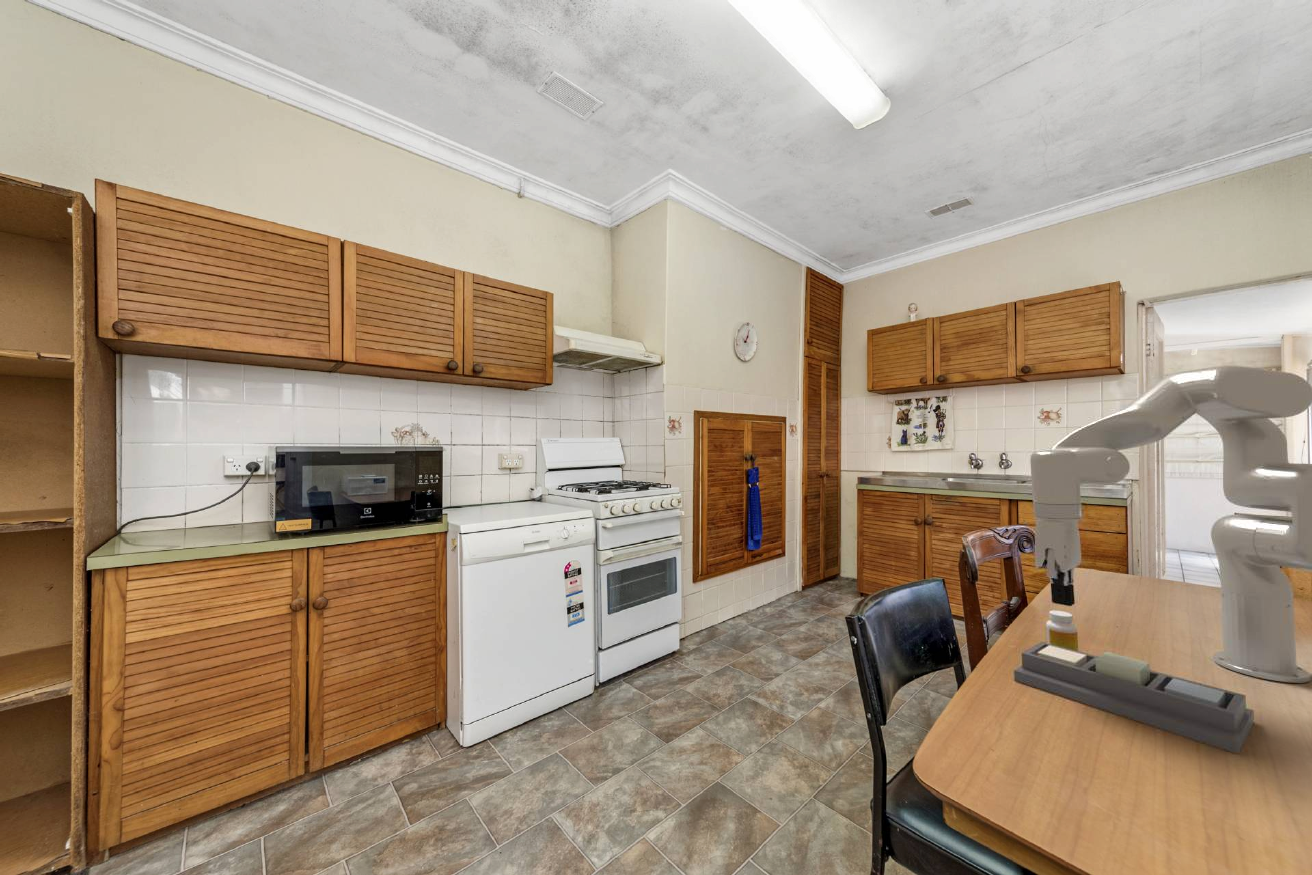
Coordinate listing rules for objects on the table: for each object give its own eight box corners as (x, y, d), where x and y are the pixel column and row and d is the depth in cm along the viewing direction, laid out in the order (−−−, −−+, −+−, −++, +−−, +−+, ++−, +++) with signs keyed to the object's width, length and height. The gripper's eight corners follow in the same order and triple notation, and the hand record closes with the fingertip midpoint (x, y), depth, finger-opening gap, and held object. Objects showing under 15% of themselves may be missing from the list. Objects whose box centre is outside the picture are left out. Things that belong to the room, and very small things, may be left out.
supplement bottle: (1084, 663, 105) (1082, 618, 105) (1055, 662, 106) (1054, 616, 106) (1068, 653, 110) (1067, 609, 110) (1041, 651, 111) (1040, 608, 111)
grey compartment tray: (1044, 661, 106) (1043, 638, 106) (1254, 722, 82) (1252, 692, 82) (1014, 680, 98) (1013, 655, 98) (1237, 754, 74) (1236, 720, 74)
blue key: (1174, 695, 87) (1173, 678, 87) (1225, 709, 82) (1224, 691, 82) (1165, 705, 83) (1164, 687, 84) (1218, 721, 78) (1217, 702, 79)
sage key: (1106, 667, 94) (1106, 651, 94) (1150, 679, 89) (1149, 662, 89) (1096, 675, 91) (1095, 659, 91) (1140, 688, 86) (1139, 671, 86)
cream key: (1049, 659, 102) (1049, 645, 102) (1086, 670, 97) (1086, 655, 97) (1038, 667, 98) (1037, 652, 99) (1075, 678, 93) (1075, 662, 94)
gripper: (1048, 506, 106) (1054, 592, 105) (1019, 514, 97) (1025, 607, 97) (1094, 509, 99) (1100, 600, 99) (1066, 517, 91) (1073, 617, 91)
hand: (1063, 603), depth 98 cm, fingers closed
